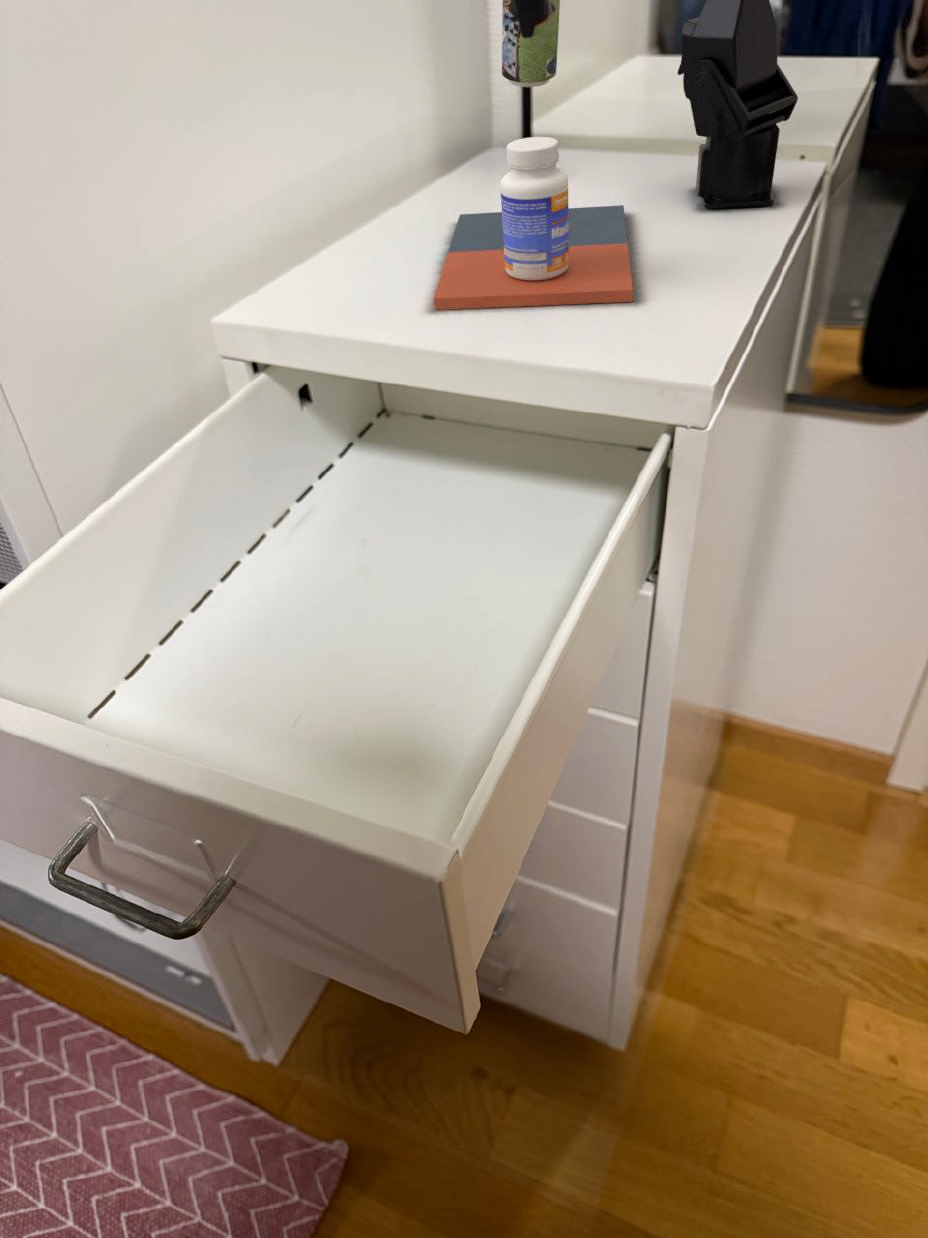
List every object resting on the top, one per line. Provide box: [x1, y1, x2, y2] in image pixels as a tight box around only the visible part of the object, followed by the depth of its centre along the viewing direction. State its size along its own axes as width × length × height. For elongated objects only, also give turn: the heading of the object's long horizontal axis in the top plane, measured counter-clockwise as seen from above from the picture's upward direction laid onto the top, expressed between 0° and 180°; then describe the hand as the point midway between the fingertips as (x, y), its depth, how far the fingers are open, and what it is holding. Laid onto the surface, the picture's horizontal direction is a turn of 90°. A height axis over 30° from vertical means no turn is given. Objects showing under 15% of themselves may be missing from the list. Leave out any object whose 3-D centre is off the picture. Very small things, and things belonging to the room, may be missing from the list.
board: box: [433, 205, 634, 311], centre depth 78 cm, size 16×21×1 cm
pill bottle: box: [499, 136, 569, 281], centre depth 71 cm, size 5×5×10 cm
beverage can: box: [501, 0, 561, 88], centre depth 94 cm, size 6×7×12 cm
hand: (528, 32), depth 94 cm, fingers closed on beverage can, 5 cm apart
